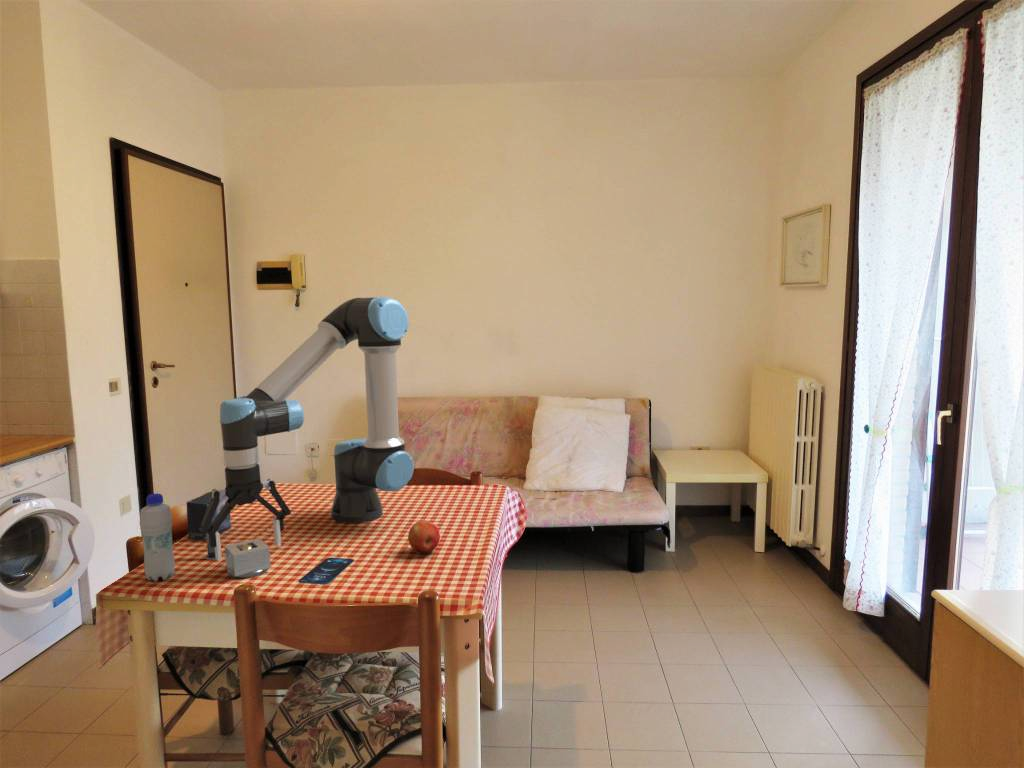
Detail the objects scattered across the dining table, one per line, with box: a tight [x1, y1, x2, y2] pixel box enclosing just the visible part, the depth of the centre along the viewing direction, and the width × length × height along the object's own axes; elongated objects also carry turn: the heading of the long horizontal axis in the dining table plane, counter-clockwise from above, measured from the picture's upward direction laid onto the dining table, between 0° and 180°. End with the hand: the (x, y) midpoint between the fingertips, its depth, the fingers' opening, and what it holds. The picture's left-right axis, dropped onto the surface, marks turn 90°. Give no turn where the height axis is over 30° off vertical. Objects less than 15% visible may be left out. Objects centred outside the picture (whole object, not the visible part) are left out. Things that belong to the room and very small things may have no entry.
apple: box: [407, 519, 441, 555], centre depth 165 cm, size 8×8×8 cm
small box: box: [185, 491, 232, 541], centre depth 181 cm, size 11×6×10 cm, turn 168°
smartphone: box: [298, 557, 355, 585], centre depth 155 cm, size 8×1×15 cm
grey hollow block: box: [224, 538, 271, 576], centre depth 155 cm, size 8×8×5 cm
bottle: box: [139, 493, 176, 582], centre depth 151 cm, size 7×7×20 cm
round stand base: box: [227, 545, 269, 580], centre depth 155 cm, size 9×9×6 cm
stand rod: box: [205, 533, 217, 561], centre depth 163 cm, size 3×3×7 cm
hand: (249, 552), depth 155 cm, fingers open, 13 cm apart
